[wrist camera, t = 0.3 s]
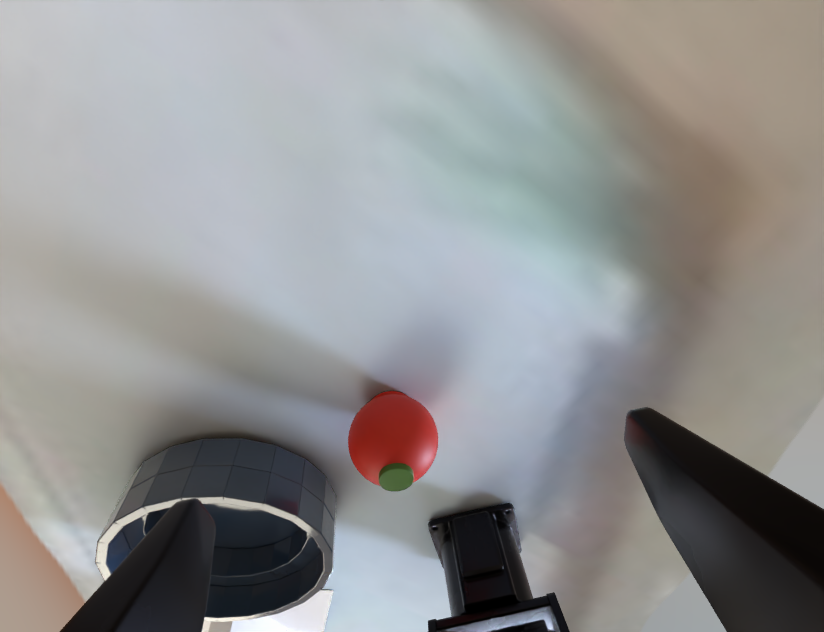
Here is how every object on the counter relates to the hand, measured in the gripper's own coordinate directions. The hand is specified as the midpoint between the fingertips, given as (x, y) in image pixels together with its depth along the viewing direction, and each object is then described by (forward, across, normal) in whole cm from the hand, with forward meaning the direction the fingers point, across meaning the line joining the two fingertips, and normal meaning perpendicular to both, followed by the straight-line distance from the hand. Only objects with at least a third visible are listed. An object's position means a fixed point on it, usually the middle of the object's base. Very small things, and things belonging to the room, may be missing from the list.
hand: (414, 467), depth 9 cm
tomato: (+14, +2, +11) cm, 18 cm away
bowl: (+14, +14, +17) cm, 26 cm away
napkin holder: (+14, +19, +35) cm, 42 cm away
